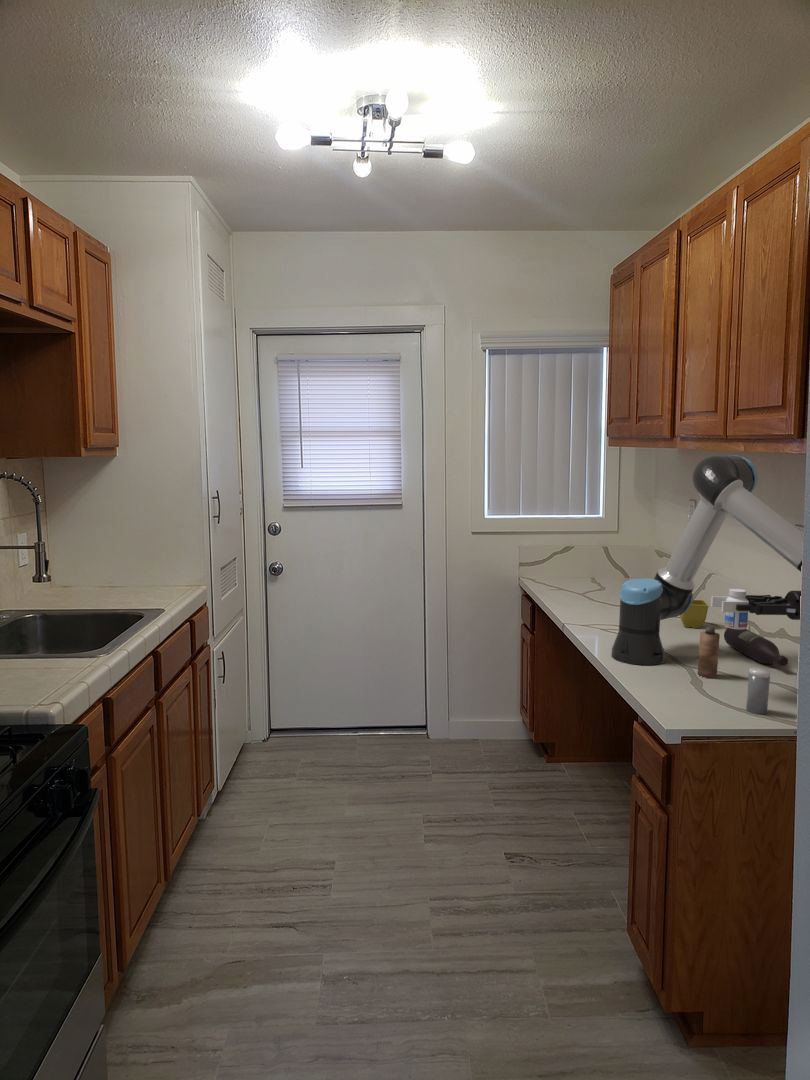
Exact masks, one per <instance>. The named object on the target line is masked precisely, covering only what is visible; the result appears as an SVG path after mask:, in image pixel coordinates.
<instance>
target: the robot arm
mask: <svg viewBox="0 0 810 1080" xmlns="http://www.w3.org/2000/svg"><path fill="white" fill-rule="evenodd" d="M758 482H759V475H758V470H757V468H756V466H755V464H754V463H753V462H752V461H751V460H750V459H748V458H746V457H744V456H739V455H736V454H735V455H734V454H733V455H711V456H710V455H709V456H707V457H705V458H704V459H702V460H700V461H699V462H698V463H697V464H696V465H695V468H694V470H693V473H692V484H693V487H694V489H695V491H696V492H697V493H698V496H699V499H700V500H699V502H698V504H697V505H696V507H695V509H694V511H693V513H692V515H691V517H690V520H689V521H688V523H687V525H686V527H685V529H684V530H683V532H682V534H681V536H680V538H679V541H678V543H677V544H676V546H675V548H674V550H673V552H672V554H671V556H670V558H669V560H668V562H667V564H666V566H665V567H662V568H661V567H660V568H659V569H658V570H657V571H656V573H655V576H654V577H653V578H645V577H642V578H631V579H629V580H626V581H625V582H624V583H622V585H621V590H620V595H619V597H620V598H619V599H620V600H619V603H620V604H619V621H618V622H619V623H618V631H617V632H618V633H617V635H616V637H615V640H614V642H613V644H612V648H611V658H613V659H614V660H616V661H619V662H622V663H626V664H631V665H641V666H644V665H645V666H653V665H659V663H660V664H662V663H664V661H665V651H664V648H663V647H664V646H663V644H662V640H661V636H660V627H661V621H662V620H667V619H671V618H677V617H680V615H681V614H683V613H685V612H686V611H687V610H688V609H689V608H690V606H691V604H692V602H693V600H694V595H693V591H694V590H695V587H696V586H695V582H694V581H693V580H694V578H695V576H696V575H697V572H698V571H699V568H700V567H701V565H702V563H703V561H704V559H705V558H706V555H707V553H708V551H709V550H710V548H711V546H712V544H713V542H714V540H715V538H716V537H717V535H718V533H719V531H720V529H721V527H722V526H723V524H724V522H725V520H726V518H727V516H729V515H731V517H732V518H734V519H735V520H736V521H738V522H739V523H740V524H741V525H743V527H745V528H746V529H748V530H749V531H750V532H751V533H752V534H753V535H755V536H756V537H757V538H759V540H761V541H762V542H763V543H765V545H767V546H768V547H770V549H772V550H773V551H774V552H776V553H777V554H778V555H779V556H781V557H782V558H783V559H784V560H786V562H787V563H789V564H791V566H793V567H794V568H795V569H796V570H797V571H799V572H800V573H801V566H802V542H803V534H804V533H803V532H801V531H800V530H799V529H797V528H796V527H795V526H794V525H792V524H791V522H789V521H787V520H786V519H785V518H783V516H781V515H780V514H778V513H777V512H776V511H775V510H773V509H772V508H771V507H769V506H768V505H767V504H765V502H763V501H762V500H761V499H759V498H758V497H757V496H755V495H754V494H753V493H752V492H753V491H754V490H755V489H756V488H757V485H758ZM728 514H729V515H728ZM801 591H802V590H790V591H788V592H787V593H786V595H785V596H784V597H783V596H782V595H781V596H780V595H775V596H771V594H762V595H760V594H758V595H756V594H746V597H745V599H747V600H748V601H749V602H747V601H726V599H727V598H728V597H730V595H728V596H726V595H725V596H724V595H723V596H722V595H721V596H720V595H719V596H718V595H717V596H715V595H711V599H710V607H711V608H721V611H720V612H721V613H725V612H742V613H748V614H755V615H756V616H760V615H761V616H787V618H789V620H793V621H801V620H800V596H801Z"/></svg>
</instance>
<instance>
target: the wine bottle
mask: <svg viewBox="0 0 810 1080" xmlns="http://www.w3.org/2000/svg"><path fill="white" fill-rule="evenodd" d="M723 639H724V641H725V643H726V644H727V645H728V646H730V647H732V648H734V650H735V649H736V651H739V652H741V653H742V654H744V655H746V656H747V657H749V658H751V659H752V660H753V661H756V662H758V663H761V664H764V665H771V664H774V663H776V664H777V665H778V666H780V667H785V666H787V665H788V664H789V659H788V657H786V656H784V655H781V654H780V651H779V648H778V646H777V645H776V644H775V643H774V642H772V641H771V640H769V639H767V638H765V637H764V636H761V635H759V634H757V633H755V632H753V631H752V630H749V629H747V628H746V629H741V630H739V629H731V628H727V627H726V629H725V631H724V633H723Z"/></svg>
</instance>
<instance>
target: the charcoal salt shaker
mask: <svg viewBox="0 0 810 1080" xmlns="http://www.w3.org/2000/svg"><path fill="white" fill-rule="evenodd" d="M770 680H771V670H769V669H767V668H763V667H759V666H758V667H757V666H756V667H749V671H748V681H747V696H746V707H745V708H746V711H747V712H749V713H751V714H755V715H766V714H767V713H768V704H769V695H770V694H769V691H770Z"/></svg>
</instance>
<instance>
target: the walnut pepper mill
mask: <svg viewBox="0 0 810 1080" xmlns="http://www.w3.org/2000/svg"><path fill="white" fill-rule="evenodd" d="M715 631H716V628H715V627H712V626H707V627H705V630H704V631H700V634H699V648H698V650H699V651H698V664H697V674H698V675H699V676H698V675H697V676H698V677H700V676H702V677H701V678H703V677H706V678H705V679H716V678H717V677H718V667H719V666H718V665H719V663H718V662H719V652H720V651H719V650H720V649H719V648H720V633H718V632H715Z"/></svg>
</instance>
